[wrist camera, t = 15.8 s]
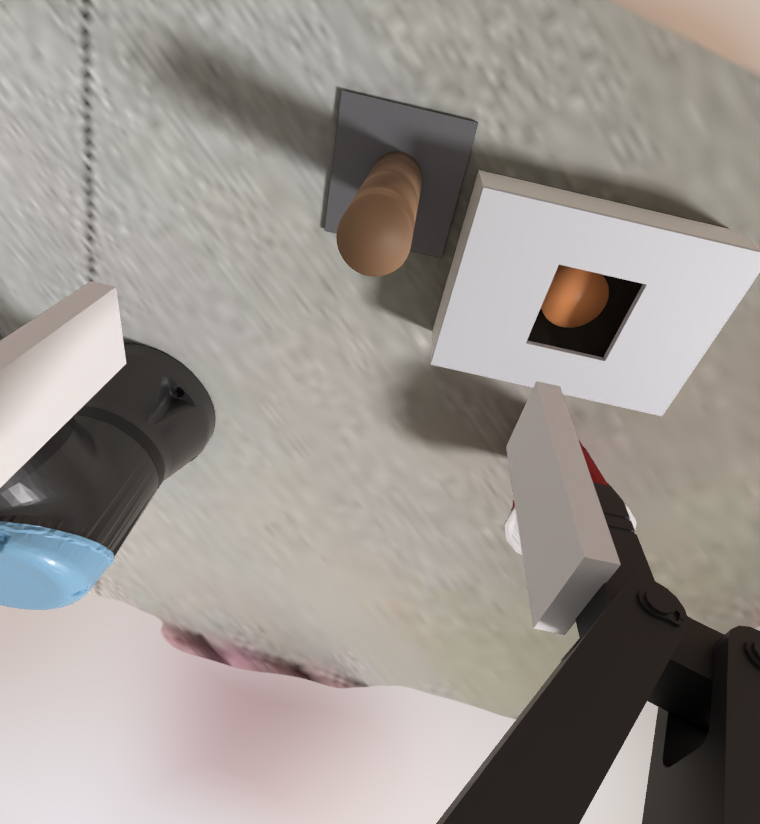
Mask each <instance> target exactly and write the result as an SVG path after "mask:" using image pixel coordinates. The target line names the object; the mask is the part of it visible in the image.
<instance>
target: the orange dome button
mask: <svg viewBox="0 0 760 824" xmlns="http://www.w3.org/2000/svg"><path fill="white" fill-rule="evenodd" d="M608 296H609V288H608V284H607V281H606V279H605V278H604V276H603V275H602V274H598V273H594V272H590V271H585V270H581V269H577V268H572V267H568V266H564V265H559V266H558V268H557V270H556V273H555V275H554V278H553V280H552V282H551V285H550V287H549V289H548V292H547V294H546V297H545V299H544V301H543V304H542V306H541V309H542V311H543V314H544V315H545V317H546V318H547V319H548V320H549V321H550V322H552V323H553V324H555V325H557V326H561V327H577V326H581V325H584V324H586V323H588V322H590V321H592V320H593V319H594V318H596V317H597V316H598V315H599V314H600V313H601V311H602V310H603V309H604V307H605V305H606V303H607V300H608Z"/></svg>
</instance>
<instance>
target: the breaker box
mask: <svg viewBox="0 0 760 824" xmlns="http://www.w3.org/2000/svg"><path fill="white" fill-rule="evenodd" d="M559 265H564V266H568V267H572V268H577V269H581V270H585V271H590V272H594V273H598V274H603V275H607V276H611V277H616V278H620V279H624V280H629V281H633V282H637V283H642V284H643V285H642V286H641V288H640V290H639V292H638V294H637V296H636V298H635V299H634V301H633V303H632V305H631V307H630V309H629V311H628V312H627V314H626V316H625V318H624V320H623V322H622V324H621V325H620V327H619V329H618V331H617V333H616V335H615V337H614V338H613V340H612V342H611V344H610V346H609V348H608V350H607V351H606V353H605V355H604V357H599V356H594V355H590V354H586V353H581V352H577V351H572V350H568V349H563V348H559V347H555V346H550V345H546V344H541V343H537V342H532V341H528V340H527V339H528V337H529V335H530V332H531V330H532V327H533V325H534V323H535V320H536V318H537V316H538V313H539V311H540V308H541V306H542V304H543V301H544V299H545V297H546V294H547V292H548V289H549V287H550V285H551V282H552V280H553V278H554V275H555V273H556V270H557V268H558V266H559ZM759 273H760V248H759V247H758V246H756V245H755V244H753V243H752V242H750V241H748V240H747V239H745V238H744V237H742V236H740V235H739V234H737V233H736V232H734V231H733V230H731V229H728V228H723V227H719V226H715V225H711V224H706V223H702V222H698V221H694V220H689V219H685V218H681V217H677V216H672V215H668V214H664V213H660V212H655V211H651V210H647V209H643V208H639V207H634V206H630V205H626V204H622V203H617V202H613V201H609V200H605V199H600V198H596V197H592V196H588V195H583V194H579V193H575V192H571V191H566V190H562V189H558V188H554V187H549V186H545V185H541V184H537V183H532V182H528V181H524V180H520V179H515V178H511V177H507V176H503V175H498V174H494V173H490V172H486V171H481V170H478V174H477V177H476V181H475V184H474V188H473V191H472V195H471V198H470V202H469V205H468V209H467V212H466V215H465V219H464V222H463V226H462V229H461V233H460V236H459V240H458V243H457V247H456V250H455V254H454V257H453V261H452V264H451V268H450V271H449V275H448V278H447V282H446V285H445V289H444V292H443V296H442V299H441V303H440V306H439V310H438V313H437V317H436V320H435V324H434V327H433V331H432V347H431V365H435V366H439V367H444V368H448V369H453V370H457V371H462V372H466V373H471V374H475V375H480V376H484V377H489V378H493V379H498V380H502V381H507V382H511V383H515V384H520V385H524V386H529V387H534V385H535V383H536V381H538V382H543V383H547V384H552V385H556V386H560V387H561V390H562V393H563V394H565V395H569V396H574V397H578V398H583V399H587V400H592V401H596V402H601V403H605V404H609V405H614V406H618V407H623V408H627V409H632V410H636V411H641V412H645V413H650V414H654V415H659V416H663V414H664V413H665V411H666V410H667V408H668V407H669V405H670V404H671V402H672V401H673V399H674V398H675V396H676V395H677V393H678V392H679V390H680V389H681V388H682V386H683V385H684V383H685V382H686V380H687V379H688V377H689V376H690V374H691V373H692V371H693V370H694V368H695V367H696V365H697V364H698V362H699V361H700V360H701V358H702V357H703V355H704V354H705V352H706V351H707V349H708V348H709V346H710V345H711V343H712V342H713V340H714V339H715V337H716V336H717V334H718V333H719V332H720V330H721V329H722V327H723V326H724V324H725V323H726V321H727V320H728V318H729V317H730V315H731V314H732V312H733V311H734V309H735V308H736V306H737V305H738V303H739V302H740V301H741V299H742V298H743V296H744V295H745V293H746V292H747V290H748V289H749V287H750V286H751V284H752V283H753V281H754V280H755V278H756V277H757V275H758V274H759Z"/></svg>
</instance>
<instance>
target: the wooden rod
mask: <svg viewBox="0 0 760 824" xmlns="http://www.w3.org/2000/svg"><path fill="white" fill-rule="evenodd" d="M421 186H422V173H421V169H420V167H419V165H418V163H417V162H416V161H415V159H414V158H413V157H411V156H410V155H408V154H406V153H404V152H399V151H394V152H389V153H386V154H384V155H383V156H381V157H380V158H379V159H378V160H377V162H376V163H375V164H374V166H373V168H372V169H371V171H370V173H369V174H368V176H367V177H366V179H365V181H364V182H363V184H362V186H361V187H360V189H359V190H358V192H357V194H356V195H355V197H354V199H353V200H352V202H351V203H350V205H349V207H348V208H347V210H346V212H345V213H344V215H343V216H342V218H341V220H340V222H339V225H338V229H337V245H338V249H339V252H340V254H341V256H342V258H343V259H344V261H345V262H346V263H347V264H348V265H349V266H350V267H351V268H352V269H354V270H355V271H357V272H358V273H361V274H363V275H367V276H374V277H378V276H384V275H387V274H390V273H392V272H394V271H395V270H397V269H398V268H399V267H400V266H401V265H402V264H403V263H404V262H405V260H406V259H407V257H408V255H409V252H410V248H411V243H412V237H413V231H414V226H415V220H416V214H417V209H418V203H419V197H420V192H421Z"/></svg>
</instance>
